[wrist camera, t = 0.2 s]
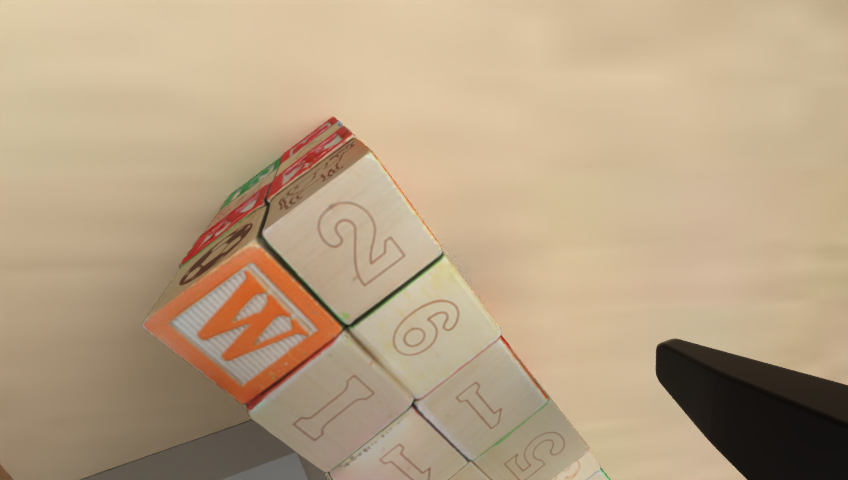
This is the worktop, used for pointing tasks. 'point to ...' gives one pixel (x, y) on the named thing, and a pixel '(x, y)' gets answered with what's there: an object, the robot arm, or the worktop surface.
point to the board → (4, 474)
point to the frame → (222, 459)
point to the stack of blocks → (358, 331)
